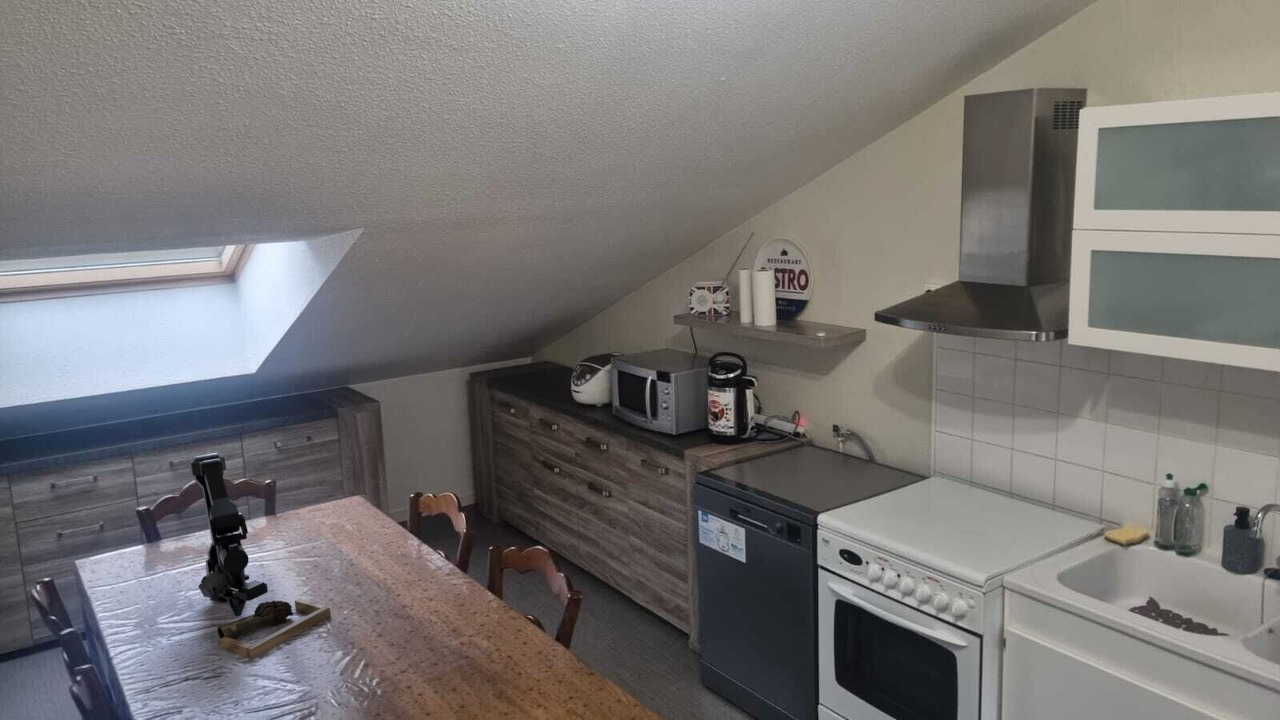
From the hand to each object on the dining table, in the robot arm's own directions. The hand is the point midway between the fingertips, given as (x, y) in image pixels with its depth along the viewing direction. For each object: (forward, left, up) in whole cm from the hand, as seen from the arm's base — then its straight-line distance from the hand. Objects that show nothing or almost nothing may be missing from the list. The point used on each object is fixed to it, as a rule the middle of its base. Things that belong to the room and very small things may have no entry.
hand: (238, 616), depth 243 cm
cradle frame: (+14, 0, -1) cm, 15 cm away
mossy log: (+8, -1, -2) cm, 8 cm away
